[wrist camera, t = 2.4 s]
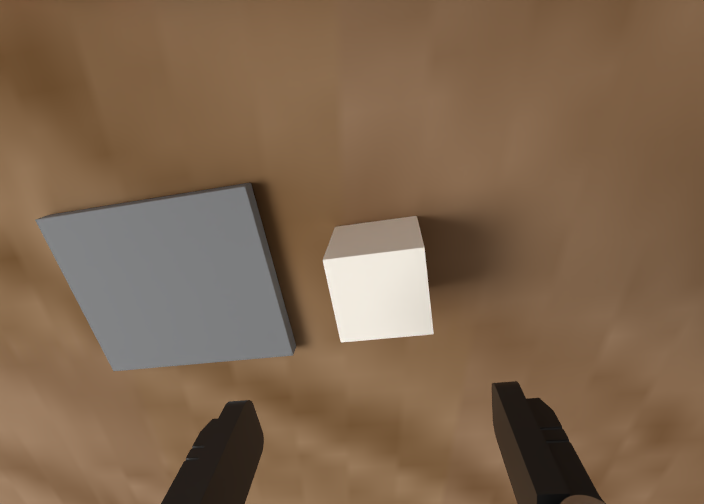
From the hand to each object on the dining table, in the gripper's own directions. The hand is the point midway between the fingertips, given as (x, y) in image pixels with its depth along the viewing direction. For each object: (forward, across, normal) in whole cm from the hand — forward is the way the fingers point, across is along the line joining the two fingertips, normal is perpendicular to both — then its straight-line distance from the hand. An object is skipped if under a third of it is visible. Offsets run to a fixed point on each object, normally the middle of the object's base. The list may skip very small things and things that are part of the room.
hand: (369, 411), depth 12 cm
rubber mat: (+12, +14, 0) cm, 18 cm away
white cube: (+12, 0, 0) cm, 12 cm away
